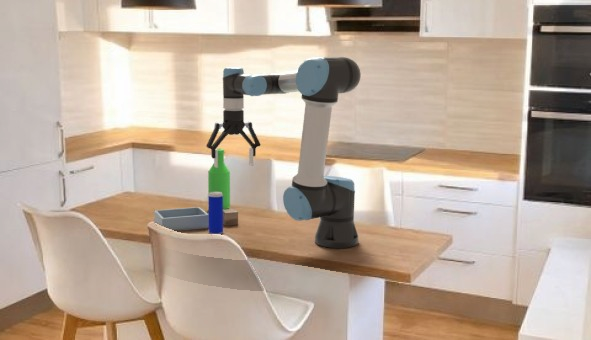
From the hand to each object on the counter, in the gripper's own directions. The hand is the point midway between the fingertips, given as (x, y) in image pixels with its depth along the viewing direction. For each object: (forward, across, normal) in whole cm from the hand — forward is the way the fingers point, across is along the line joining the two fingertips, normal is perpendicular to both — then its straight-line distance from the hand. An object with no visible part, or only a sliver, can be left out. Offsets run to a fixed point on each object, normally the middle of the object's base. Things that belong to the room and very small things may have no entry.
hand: (233, 166), depth 280 cm
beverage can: (+23, +10, +11) cm, 27 cm away
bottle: (+23, -1, -26) cm, 34 cm away
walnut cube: (+22, +1, -2) cm, 23 cm away
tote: (+22, +19, -4) cm, 30 cm away
